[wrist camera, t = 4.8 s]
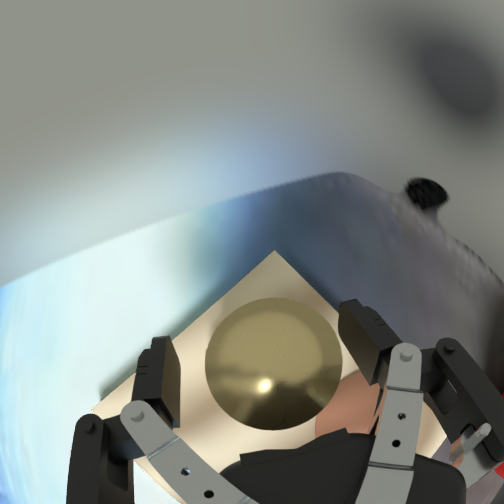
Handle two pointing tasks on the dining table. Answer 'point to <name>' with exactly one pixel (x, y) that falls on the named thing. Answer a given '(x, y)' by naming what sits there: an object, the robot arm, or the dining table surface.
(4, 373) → the dining table surface
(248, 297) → the gear board
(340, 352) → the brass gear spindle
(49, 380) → the dining table surface
